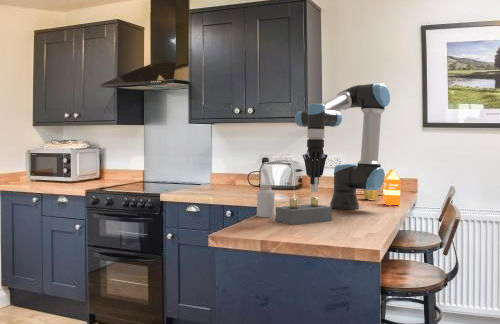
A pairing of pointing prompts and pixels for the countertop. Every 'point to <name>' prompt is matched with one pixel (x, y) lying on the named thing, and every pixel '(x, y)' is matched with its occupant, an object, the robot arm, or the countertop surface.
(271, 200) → the pill bottle
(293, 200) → the pin
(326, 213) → the block
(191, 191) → the countertop surface
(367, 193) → the plant pot
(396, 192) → the orange juice
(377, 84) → the robot arm
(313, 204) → the pin
